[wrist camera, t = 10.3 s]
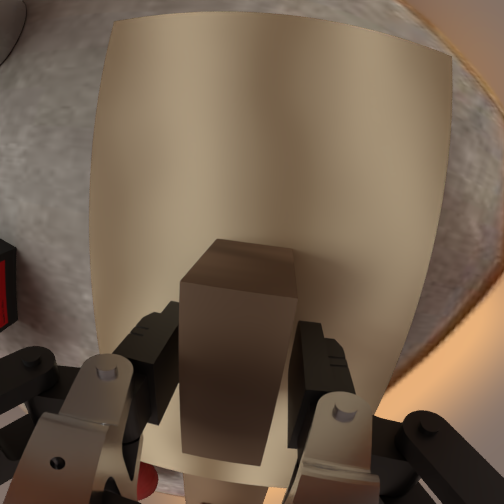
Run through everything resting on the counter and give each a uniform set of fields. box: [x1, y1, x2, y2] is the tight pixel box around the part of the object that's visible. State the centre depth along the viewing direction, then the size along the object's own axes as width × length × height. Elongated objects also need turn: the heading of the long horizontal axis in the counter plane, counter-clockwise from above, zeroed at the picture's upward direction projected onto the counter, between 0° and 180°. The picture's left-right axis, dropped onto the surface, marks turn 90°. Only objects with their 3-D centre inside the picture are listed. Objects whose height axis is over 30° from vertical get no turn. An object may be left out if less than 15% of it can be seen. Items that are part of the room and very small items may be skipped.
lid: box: [89, 12, 452, 488], centre depth 10 cm, size 13×22×6 cm, turn 173°
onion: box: [137, 461, 158, 500], centre depth 26 cm, size 6×6×8 cm
